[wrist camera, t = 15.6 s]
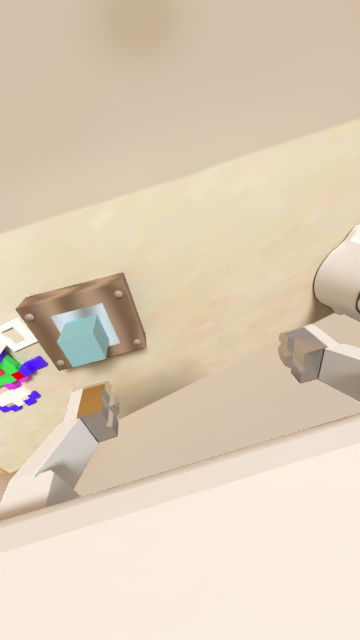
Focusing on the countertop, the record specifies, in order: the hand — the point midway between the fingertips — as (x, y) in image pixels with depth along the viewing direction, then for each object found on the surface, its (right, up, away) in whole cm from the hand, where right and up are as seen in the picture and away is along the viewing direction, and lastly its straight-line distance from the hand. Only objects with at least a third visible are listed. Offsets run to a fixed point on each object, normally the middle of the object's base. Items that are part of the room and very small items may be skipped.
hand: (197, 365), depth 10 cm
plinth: (-17, +3, +30) cm, 34 cm away
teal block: (-16, 0, +26) cm, 30 cm away
